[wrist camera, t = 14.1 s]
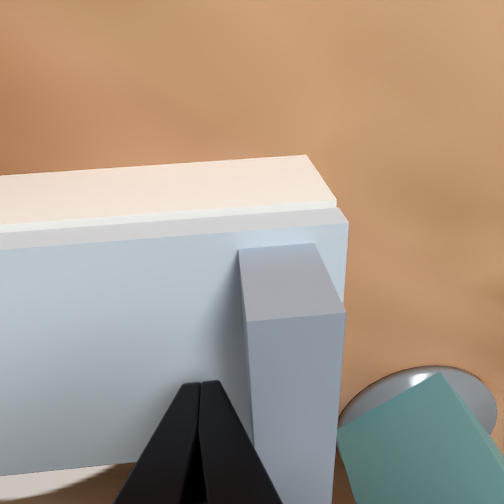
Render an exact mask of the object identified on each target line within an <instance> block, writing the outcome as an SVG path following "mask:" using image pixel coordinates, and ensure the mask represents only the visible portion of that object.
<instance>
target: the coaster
mask: <svg viewBox="0 0 504 504" xmlns="http://www.w3.org/2000/svg"><path fill="white" fill-rule="evenodd" d="M439 371H440V372H441V373H442V375H443V376H444V377H445V378H446V380H447V381H448V382H449V384H450V385H451V386H452V387H453V389H454V390H455V391H456V392H457V394H458V395H459V396H460V398H461V399H462V400H463V401H464V403H465V404H466V405H467V406H468V408H469V409H470V410H471V412H472V413H473V414H474V415H475V417H476V418H477V419H478V420H479V422H480V423H481V424H482V426H483V427H484V428H485V429H486V431H487V432H488V433H489V435H490V434H491V432H492V430H493V428H494V426H495V423H496V419H497V405H496V402H495V399H494V397H493V395H492V394H491V392H490V391H489V389H488V388H487V386H486V385H485V384H484V383H483V382H482V381H481V380H480V379H479V378H478V377H476V376H475V375H473V374H471V373H469V372H467V371H465V370H462V369H459V368H454V367H449V366H422V367H415V368H411V369H407V370H403V371H400V372H397V373H394V374H391V375H389V376H387V377H384V378H382V379H380V380H378V381H376V382H375V383H373V384H371V385H370V386H368V387H367V388H365V389H364V390H363V391H361V392H360V393H359V394H358V395H357V396H355V397H354V398H353V400H352V401H351V402H350V403H349V404H348V405H347V406H346V408H345V409H344V411H343V412H342V414H341V416H340V418H339V420H338V425H337V429H339V428H341V427H343V426H344V425H346V424H348V423H350V422H351V421H353V420H355V419H357V418H358V417H360V416H362V415H364V414H365V413H367V412H369V411H371V410H372V409H374V408H376V407H378V406H379V405H381V404H383V403H385V402H387V401H388V400H390V399H392V398H394V397H395V396H397V395H399V394H401V393H402V392H404V391H406V390H408V389H409V388H411V387H413V386H415V385H416V384H418V383H420V382H422V381H424V380H425V379H427V378H429V377H431V376H432V375H434V374H436V373H438V372H439ZM336 445H337V449H338V452H339V455H340V457H341V459H342V455H341V452H340V449H339V445H338V442H337V438H336ZM342 461H343V459H342Z"/></svg>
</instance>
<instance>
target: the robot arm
mask: <svg viewBox="0 0 504 504" xmlns="http://www.w3.org/2000/svg"><path fill="white" fill-rule="evenodd" d="M112 504H283V502H282V500H281V498H280V496H279V494H278V493H277V491H276V489H275V487H274V485H273V483H272V481H271V479H270V477H269V475H268V473H267V471H266V469H265V467H264V465H263V463H262V461H261V459H260V458H259V456H258V454H257V452H256V450H255V448H254V446H253V444H252V442H251V440H250V438H249V436H248V434H247V432H246V430H245V428H244V426H243V424H242V423H241V421H240V419H239V417H238V415H237V413H236V411H235V409H234V407H233V405H232V403H231V401H230V399H229V397H228V395H227V393H226V391H225V390H224V388H223V386H222V384H221V382H220V381H219V380H210V381H203V382H189V383H184V384H182V385H181V387H180V388H179V390H178V392H177V394H176V395H175V397H174V399H173V400H172V402H171V404H170V406H169V407H168V409H167V411H166V412H165V414H164V416H163V418H162V419H161V421H160V423H159V424H158V426H157V428H156V430H155V431H154V433H153V435H152V436H151V438H150V440H149V442H148V443H147V445H146V447H145V448H144V450H143V452H142V454H141V455H140V457H139V459H138V460H137V462H136V464H135V466H134V467H133V469H132V471H131V472H130V474H129V476H128V478H127V479H126V481H125V483H124V484H123V486H122V488H121V490H120V491H119V493H118V495H117V496H116V498H115V500H114V502H113V503H112Z"/></svg>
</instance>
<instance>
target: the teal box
mask: <svg viewBox="0 0 504 504" xmlns="http://www.w3.org/2000/svg"><path fill="white" fill-rule="evenodd" d="M337 442H338V445H339V449H340V452H341V455H342V459H343V462H344V465H345V469H346V472H347V476H348V479H349V482H350V486H351V489H352V492H353V496H354V499H355V502H356V504H504V456H503V454H502V453H501V451H500V450H499V448H498V447H497V445H496V444H495V442H494V441H493V439H492V438H491V436H490V435H489V433H488V432H487V431H486V429H485V428H484V427H483V426H482V424H481V423H480V422H479V420H478V419H477V418H476V417H475V415H474V414H473V413H472V412H471V410H470V409H469V408H468V406H467V405H466V404H465V403H464V401H463V400H462V399H461V398H460V396H459V395H458V394H457V392H456V391H455V390H454V389H453V387H452V386H451V385H450V384H449V382H448V381H447V380H446V378H445V377H444V376H443V375H442V373H441V372H440V371H439V372H438V373H436V374H434V375H432V376H431V377H429V378H427V379H425V380H424V381H422V382H420V383H418V384H416V385H415V386H413V387H411V388H409V389H408V390H406V391H404V392H402V393H401V394H399V395H397V396H395V397H394V398H392V399H390V400H388V401H387V402H385V403H383V404H381V405H379V406H378V407H376V408H374V409H372V410H371V411H369V412H367V413H365V414H364V415H362V416H360V417H358V418H357V419H355V420H353V421H351V422H350V423H348V424H346V425H344V426H343V427H341V428H339V429H337Z"/></svg>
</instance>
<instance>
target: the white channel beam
mask: <svg viewBox="0 0 504 504" xmlns="http://www.w3.org/2000/svg"><path fill="white" fill-rule="evenodd" d="M336 204H337V200H336V198H335V197H334V195H333V194H332V192H331V191H330V189H329V188H328V186H327V185H326V183H325V182H324V180H323V179H322V177H321V176H320V174H319V173H318V171H317V170H316V168H315V167H314V165H313V164H312V162H311V161H310V159H309V158H308V157H307V155H295V156H281V157H266V158H251V159H237V160H222V161H208V162H193V163H178V164H164V165H149V166H134V167H120V168H105V169H91V170H76V171H61V172H47V173H32V174H17V175H3V176H0V233H7V232H20V231H34V230H47V229H60V228H73V227H87V226H100V225H113V224H127V223H140V222H153V221H167V220H180V219H193V218H206V217H220V216H233V215H246V214H260V213H273V212H286V211H299V210H313V209H326V208H336Z"/></svg>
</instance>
